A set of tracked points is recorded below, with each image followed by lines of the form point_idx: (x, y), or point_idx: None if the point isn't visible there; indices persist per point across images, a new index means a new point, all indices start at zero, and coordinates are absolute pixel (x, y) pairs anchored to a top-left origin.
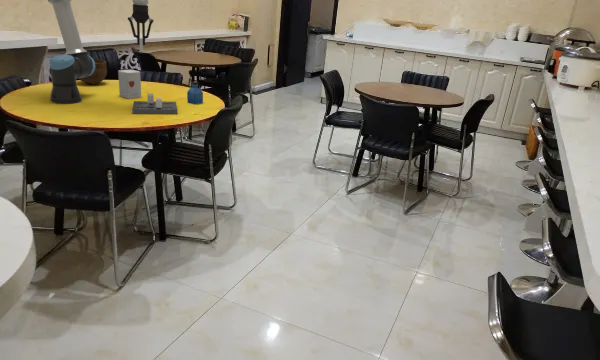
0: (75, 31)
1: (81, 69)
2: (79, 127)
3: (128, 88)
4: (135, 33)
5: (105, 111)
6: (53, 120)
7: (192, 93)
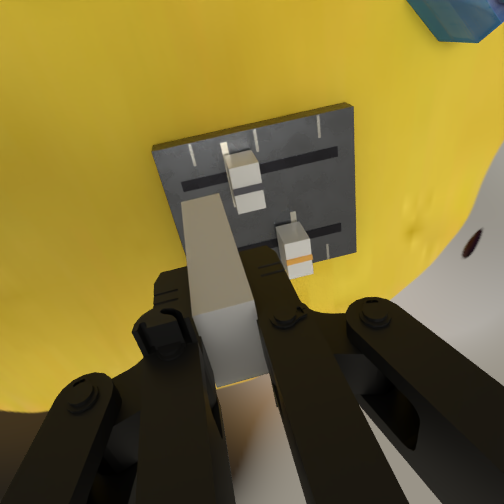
0: None
1: None
2: None
3: None
4: (98, 455)
5: (87, 274)
6: (3, 400)
7: (465, 27)
